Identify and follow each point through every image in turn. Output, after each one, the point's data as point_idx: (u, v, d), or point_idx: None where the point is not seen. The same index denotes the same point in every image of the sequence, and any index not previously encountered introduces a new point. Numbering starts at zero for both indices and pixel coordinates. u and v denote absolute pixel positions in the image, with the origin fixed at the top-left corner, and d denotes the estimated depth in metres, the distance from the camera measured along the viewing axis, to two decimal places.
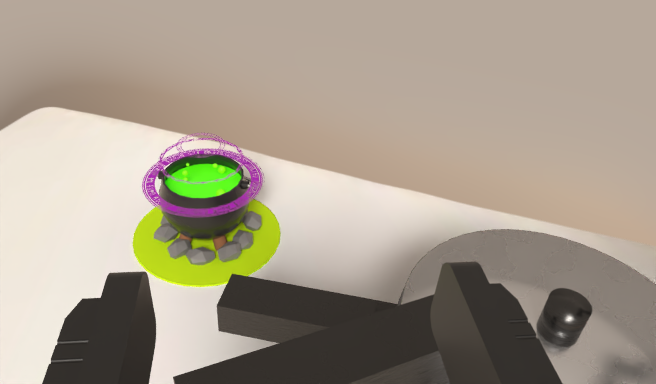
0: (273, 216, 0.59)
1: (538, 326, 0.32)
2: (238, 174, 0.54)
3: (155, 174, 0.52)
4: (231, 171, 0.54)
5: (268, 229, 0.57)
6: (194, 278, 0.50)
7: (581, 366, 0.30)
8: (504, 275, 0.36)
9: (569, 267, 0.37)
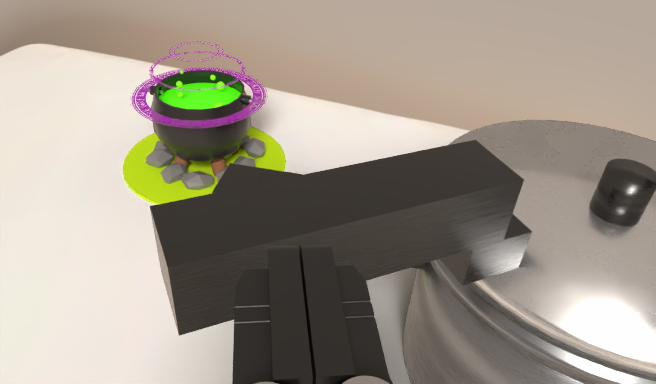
0: (277, 145, 0.53)
1: (592, 205, 0.27)
2: (239, 92, 0.49)
3: (146, 89, 0.47)
4: (231, 89, 0.49)
5: (272, 157, 0.52)
6: None
7: (647, 245, 0.25)
8: (546, 160, 0.31)
9: (620, 154, 0.32)
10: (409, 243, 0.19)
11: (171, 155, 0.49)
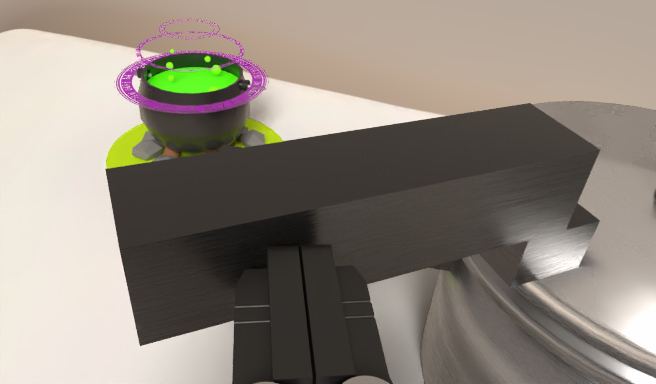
0: (279, 138, 0.48)
1: None
2: (236, 77, 0.44)
3: (133, 72, 0.42)
4: (228, 75, 0.44)
5: None
6: None
7: None
8: (596, 144, 0.26)
9: None
10: (451, 229, 0.15)
11: (160, 146, 0.44)
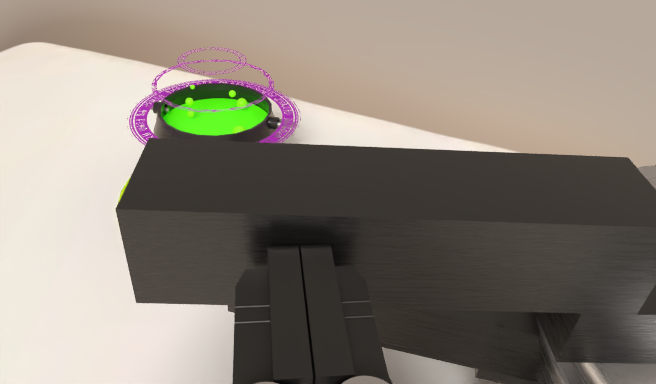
0: None
1: None
2: (264, 112, 0.39)
3: (149, 106, 0.37)
4: (255, 108, 0.39)
5: None
6: None
7: None
8: None
9: None
10: (473, 275, 0.13)
11: None
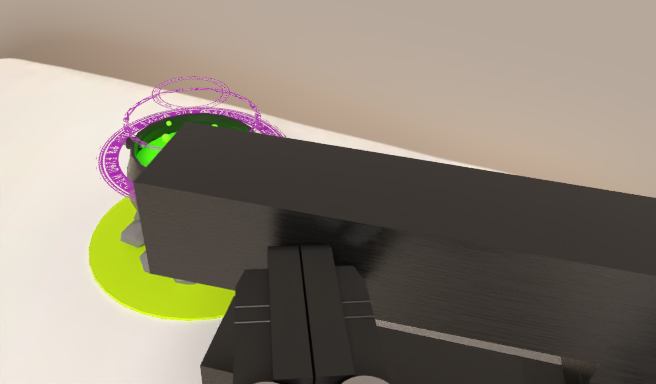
0: None
1: None
2: None
3: (122, 141, 0.33)
4: None
5: None
6: (178, 305, 0.32)
7: None
8: None
9: None
10: (478, 301, 0.12)
11: None
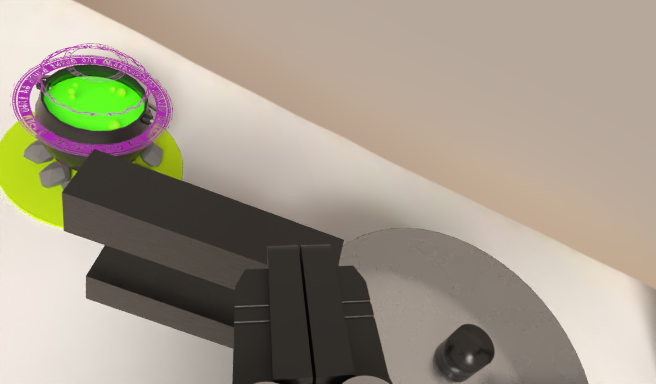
0: (177, 151, 0.50)
1: (438, 345, 0.31)
2: (141, 101, 0.45)
3: (33, 82, 0.41)
4: (133, 95, 0.45)
5: (169, 167, 0.49)
6: None
7: None
8: (455, 291, 0.34)
9: (522, 328, 0.34)
10: (232, 274, 0.26)
11: None
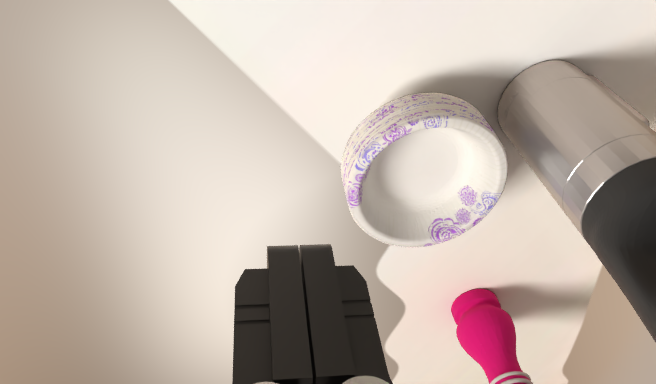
0: None
1: None
2: None
3: None
4: None
5: None
6: None
7: None
8: None
9: None
10: None
11: None
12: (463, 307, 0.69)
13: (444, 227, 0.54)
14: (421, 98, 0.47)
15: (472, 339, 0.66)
